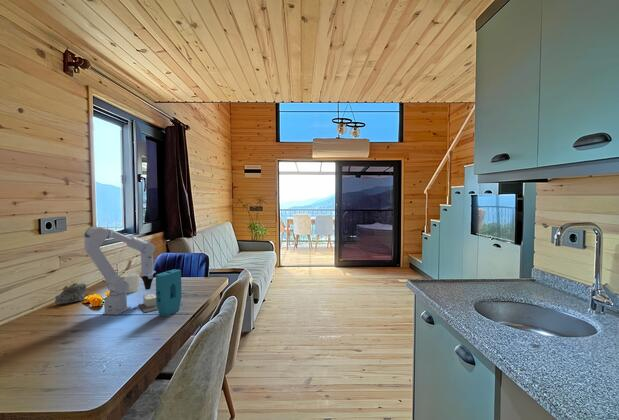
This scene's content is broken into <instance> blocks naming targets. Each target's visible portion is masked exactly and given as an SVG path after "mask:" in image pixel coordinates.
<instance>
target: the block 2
mask: <svg viewBox="0 0 619 420" xmlns="http://www.w3.org/2000/svg"><path fill="white" fill-rule="evenodd" d="M155 295H156V304H157V308H158V310H157V312H158V315H159V316H162V317H169V316H170V315H173V314H175V313H177V312H179V311H180V308H181V307H180V306H181V302H182V270H181V269H175V268H174V269H171V270H166V271H164V272H160V273H157V274H156V273H155Z"/></svg>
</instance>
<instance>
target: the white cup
mask: <svg viewBox="0 0 619 420" xmlns="http://www.w3.org/2000/svg"><path fill="white" fill-rule="evenodd" d="M140 275H141V273H138V272H137V273H136V272H134V273H132V272H131V273H128V274H124V281H126V282H127V283H128V284H129V288H128V290H127V293H128V294H129V293H130V294H131V293H136V292H139V290H140Z"/></svg>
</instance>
